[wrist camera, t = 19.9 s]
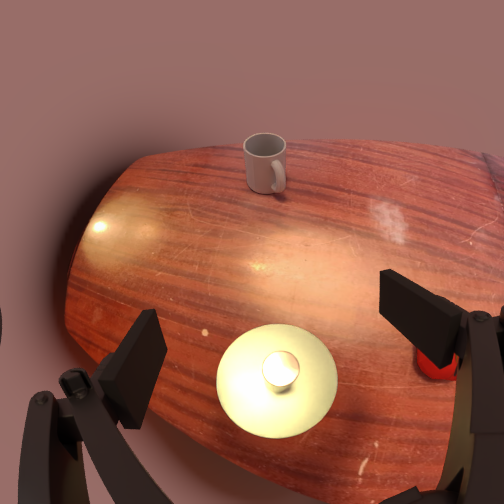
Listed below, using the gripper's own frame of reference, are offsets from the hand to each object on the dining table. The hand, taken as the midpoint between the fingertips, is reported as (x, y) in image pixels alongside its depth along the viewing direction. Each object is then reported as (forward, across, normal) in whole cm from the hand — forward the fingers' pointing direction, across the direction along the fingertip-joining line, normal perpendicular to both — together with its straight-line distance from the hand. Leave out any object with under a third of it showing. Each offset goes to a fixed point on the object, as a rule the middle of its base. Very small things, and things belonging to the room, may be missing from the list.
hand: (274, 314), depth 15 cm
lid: (+8, 0, -12) cm, 15 cm away
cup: (+39, +6, +6) cm, 40 cm away
